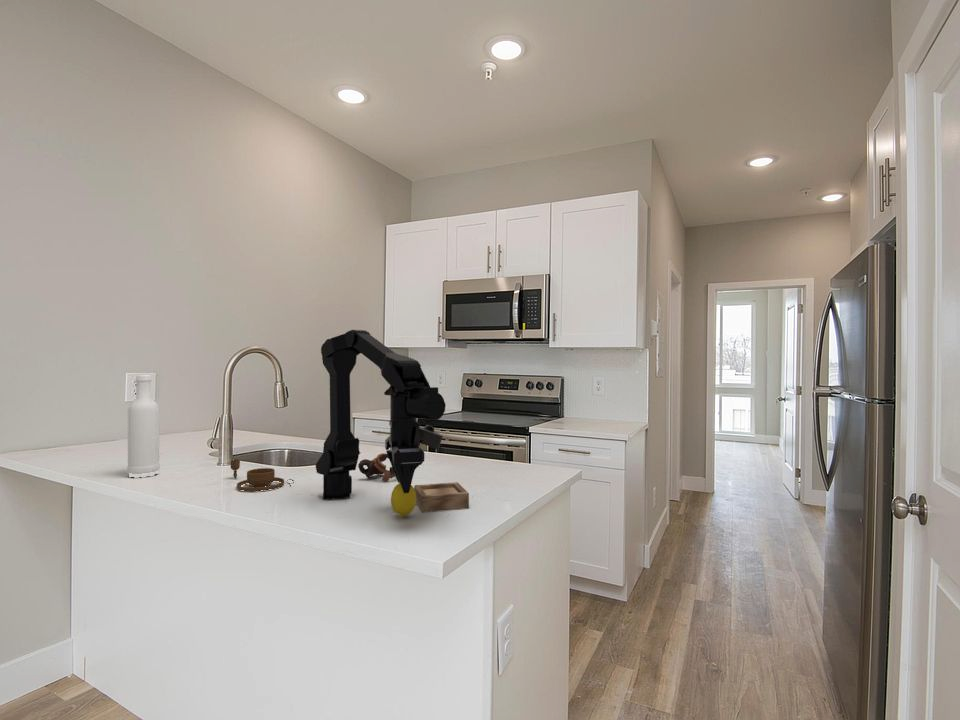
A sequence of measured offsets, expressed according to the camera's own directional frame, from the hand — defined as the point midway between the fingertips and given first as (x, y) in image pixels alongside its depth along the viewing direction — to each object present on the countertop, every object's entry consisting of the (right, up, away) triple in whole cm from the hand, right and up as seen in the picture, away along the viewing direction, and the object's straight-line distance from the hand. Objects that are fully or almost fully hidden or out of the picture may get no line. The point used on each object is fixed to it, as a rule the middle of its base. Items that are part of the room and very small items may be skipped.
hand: (403, 487), depth 110 cm
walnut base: (+7, -7, +10) cm, 14 cm away
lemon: (0, -7, 0) cm, 7 cm away
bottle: (-84, -7, +40) cm, 93 cm away
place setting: (-45, -7, +30) cm, 54 cm away
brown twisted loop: (-12, -7, +36) cm, 38 cm away
